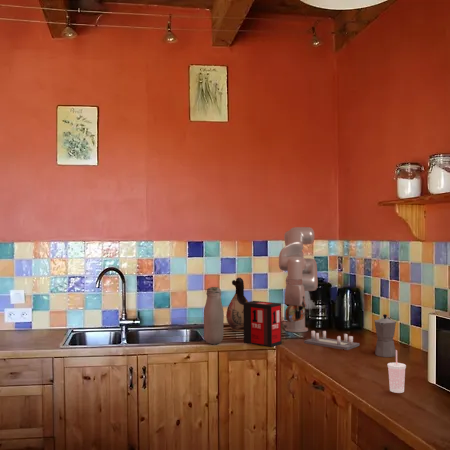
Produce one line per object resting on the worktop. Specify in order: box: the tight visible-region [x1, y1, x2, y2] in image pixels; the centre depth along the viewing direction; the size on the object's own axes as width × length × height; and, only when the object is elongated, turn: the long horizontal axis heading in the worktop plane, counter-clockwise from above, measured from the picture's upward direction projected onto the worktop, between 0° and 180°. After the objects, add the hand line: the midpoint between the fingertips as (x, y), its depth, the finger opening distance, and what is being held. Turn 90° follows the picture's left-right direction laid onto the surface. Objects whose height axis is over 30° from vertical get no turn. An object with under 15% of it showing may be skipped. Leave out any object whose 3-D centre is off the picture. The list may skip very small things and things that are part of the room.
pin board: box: [304, 330, 360, 351], centre depth 250 cm, size 24×12×5 cm, turn 47°
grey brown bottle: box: [203, 286, 225, 345], centre depth 254 cm, size 10×10×28 cm
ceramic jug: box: [225, 277, 249, 333], centre depth 288 cm, size 17×15×30 cm
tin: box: [285, 305, 307, 322], centre depth 262 cm, size 15×3×8 cm, turn 137°
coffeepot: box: [374, 314, 397, 358], centre depth 229 cm, size 15×9×18 cm, turn 150°
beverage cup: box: [387, 349, 407, 394], centre depth 177 cm, size 6×6×14 cm
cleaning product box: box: [243, 300, 283, 348], centre depth 254 cm, size 16×9×20 cm, turn 51°
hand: (295, 317), depth 262 cm, fingers closed on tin, 2 cm apart
